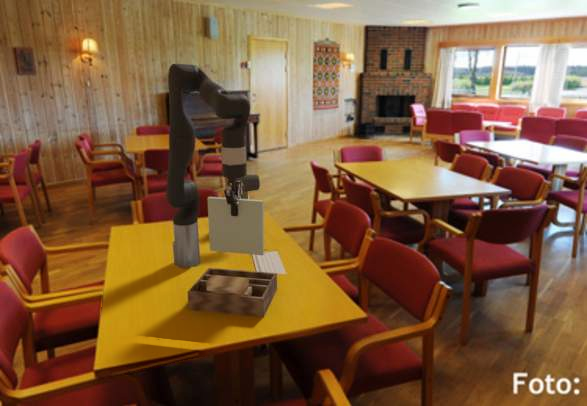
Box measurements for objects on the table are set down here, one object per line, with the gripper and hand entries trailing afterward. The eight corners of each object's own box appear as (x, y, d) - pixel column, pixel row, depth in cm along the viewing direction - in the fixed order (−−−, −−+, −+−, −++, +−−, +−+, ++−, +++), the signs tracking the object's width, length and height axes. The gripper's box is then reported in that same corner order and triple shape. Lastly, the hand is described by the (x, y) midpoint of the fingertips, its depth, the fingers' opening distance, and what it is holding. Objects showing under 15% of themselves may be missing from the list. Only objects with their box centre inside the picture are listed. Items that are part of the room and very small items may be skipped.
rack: (189, 313, 136) (187, 291, 134) (210, 287, 153) (209, 267, 151) (264, 321, 132) (263, 298, 129) (277, 293, 149) (276, 273, 146)
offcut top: (206, 290, 134) (206, 281, 134) (212, 283, 139) (212, 274, 138) (244, 294, 132) (243, 285, 132) (248, 286, 137) (248, 277, 136)
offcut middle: (210, 299, 135) (209, 290, 134) (216, 292, 140) (215, 283, 139) (247, 303, 133) (247, 294, 132) (252, 295, 138) (251, 286, 137)
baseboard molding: (257, 291, 151) (291, 288, 154) (257, 283, 151) (291, 280, 153) (248, 256, 181) (277, 254, 183) (248, 250, 180) (277, 248, 182)
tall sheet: (209, 250, 144) (207, 197, 138) (211, 248, 145) (209, 196, 140) (262, 255, 140) (262, 201, 135) (264, 253, 142) (263, 200, 137)
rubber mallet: (234, 243, 193) (231, 177, 185) (231, 237, 200) (229, 173, 192) (261, 240, 196) (260, 175, 188) (258, 235, 203) (257, 172, 195)
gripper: (229, 156, 141) (231, 208, 146) (214, 164, 128) (216, 220, 133) (252, 157, 140) (253, 209, 145) (238, 166, 127) (240, 222, 132)
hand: (235, 214), depth 139 cm, fingers closed on tall sheet, 1 cm apart
